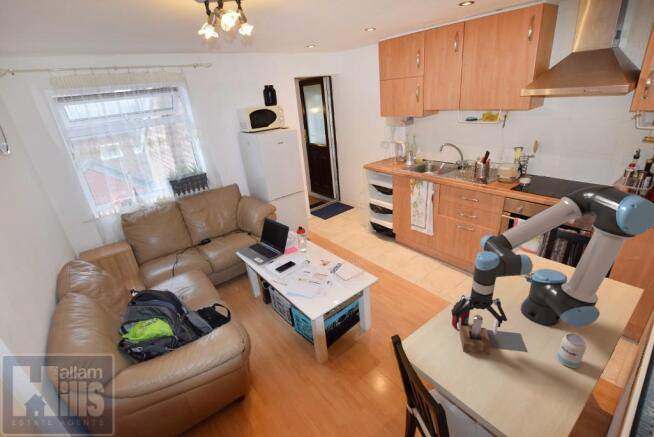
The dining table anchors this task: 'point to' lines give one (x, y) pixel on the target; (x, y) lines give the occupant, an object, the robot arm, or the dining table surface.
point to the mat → (506, 340)
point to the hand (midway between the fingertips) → (476, 329)
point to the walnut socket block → (474, 341)
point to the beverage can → (463, 319)
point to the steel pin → (476, 327)
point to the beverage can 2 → (571, 350)
